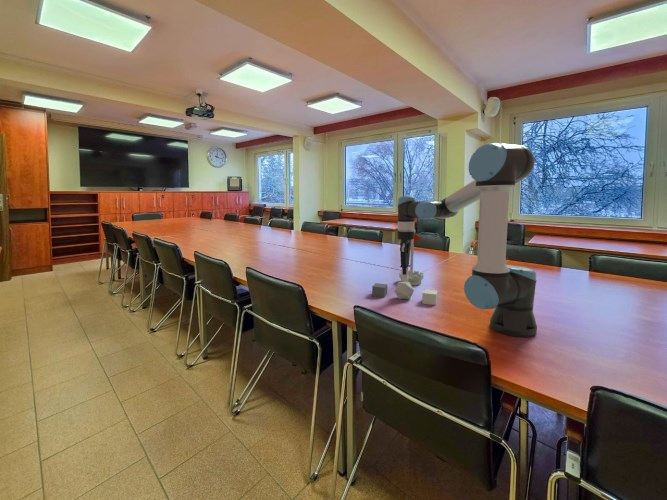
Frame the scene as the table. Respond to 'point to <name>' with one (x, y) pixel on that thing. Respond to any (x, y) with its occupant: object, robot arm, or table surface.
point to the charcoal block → (379, 290)
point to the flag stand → (412, 277)
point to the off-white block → (429, 297)
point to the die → (404, 290)
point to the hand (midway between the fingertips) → (404, 280)
